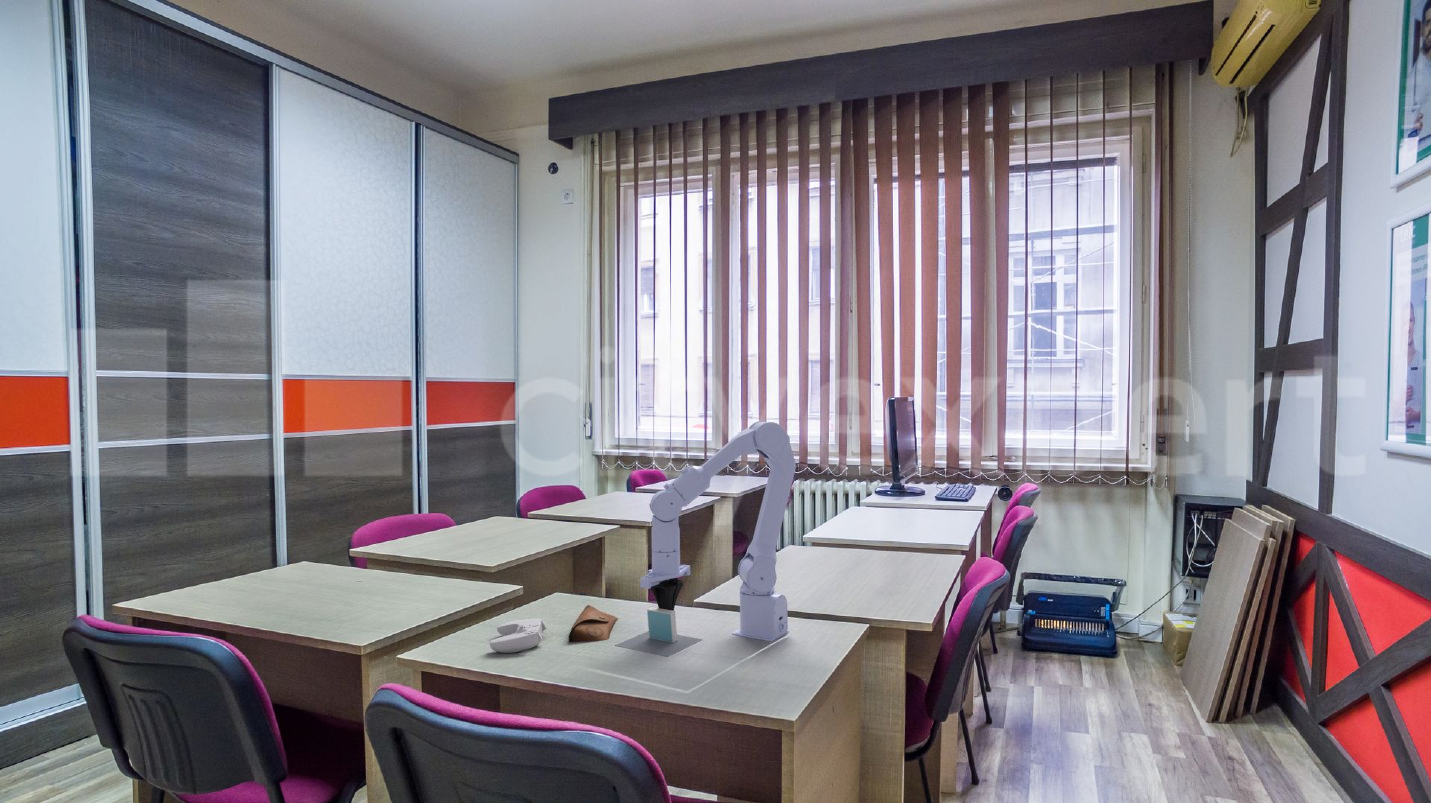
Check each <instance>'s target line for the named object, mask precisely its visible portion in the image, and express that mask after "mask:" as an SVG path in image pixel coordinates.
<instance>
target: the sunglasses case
mask: <svg viewBox="0 0 1431 803" xmlns="http://www.w3.org/2000/svg"><path fill="white" fill-rule="evenodd" d="M618 620H619V618H618V617H616V616H614V615H613V614H609V613H606V612H603V611H601V610H599V609H597V608H596V607H594V606H593V605H590V604H587V605H586V606H585V607H584V609H583V610H582V611H581V613H580V614H579V615H578V617H577V619H576V620H575V622H574V623H573V625H572V627H571V630H570V631H569V634H568V642H569V643H581V642H582V643H583V642H586V643H588V642H601V641H608V640H609V639H610V636H611V632H612V630H613V628H614V627H615V624H616V622H617V621H618Z"/></svg>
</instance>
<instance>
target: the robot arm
mask: <svg viewBox="0 0 1431 803" xmlns="http://www.w3.org/2000/svg"><path fill="white" fill-rule="evenodd" d="M757 453H758V454H760V456H762V458H763V460H764V461H765V462H766V465H767V466H769V474H768V478H767V482H766V486H765V489H764V493H763V498H762V501H761V505H760V509H759V512H758V517H757V522H756V525H755V529H754V533H753V538H752V541H751V542H750V544H749V545H748V547H747V549H746V553H745V554H744V557H742V559H741V560H740V562H739V563H738V567H737V573H738V577H739V578H740V579H741V580H742V583H741V586H740V587H739V621H740V623H739V624H740V628H739V629H736V630H735V631H732V633H731V634H732V636H733V635H734V636H739V637H746V638H751V639H756V640H760V641H761V640H762V641H765V642H773V641H776V640H777V639H778V638H781V637H782V636H785V635H786V634H788V633H789V632H790V629H789V626H788V623H789V622H788V620H789V618H788V600H787V598H786V596H785V595H784V594H782V593H778V592H776V591H775V585H776V583H777V572H776V566H777V565H776V564H777V549H776V548H777V544H778V540H779V536H780V533H781V532H780V531H781V529H782V524H783V521H784V516H785V512H786V509H787V504H788V500H789V496H790V493H791V492H790V491H791V488H792V484H793V480H794V476H795V474H796V468H797V463H796V459H795V456H794V453H793V449H792V445H791V438H790V436H789V434H788V433H787V432H786V431H785V429H784V428H783V426H781V425H780V424H778V423H777V422H774V421H768V422H767V421H764V420H758V421H755V422H754V423H752V424H751V425H749V427H747V428H744V429H743V430H742V431H740V432H739V433H737V435H735V436H733V438H731V439H730V440H729V441H728V442H727V443H726V444H725V445H724V446H722V447H721V448H720V449H719V450H718V451H716V453H714V454H713V455H712V456H711V457H710V458H709V459H707V460H706V461H705V462H704V463H703V464H701V465H700V466H699V465H691V466H689V467H686V466H685V467H684V468H682V469H681V472H682V473H681V474H680V475H678V476H677V477H676V478H675V479H674V480H673V481H671V482H670V483H665V484H664V485H663V488H664V490H659V491H657V492H655V493H654V494H653V496H652V497H651V500H650V503H649V508H650V511H651V513H652V514H653V515H652V519H651V525H652V526H651V569H648V570H647V571H648V573H647V574H645V576H643V577H640V578H639V587H640V589H646V590H650V591H651V592H652V594H653V595H654V599H655V601H656V603H657V608H660V609H666V610H672V611H675V606H676V604H677V599H678V596H679V594H680V592H681V590H682V588H683V586H684V581H683V580H682V579H681V580H680V579H678V578H681V577H684V576H691V565H688V564H681V549H680V548H681V545H680V544H681V543H680V542H681V539H680V537H681V536H680V534H681V533H680V531H681V530H680V529H681V528H680V527H679V517H680V515H681V514H682V510H683V507H687V506H688V505H690V504H691V503H692V502H694V501H695V500H696V499H697V498H698V497H700V495H702V494H703V493H704V492H706V491H707V490H708V489H709V488H710V485H711V480H712V478H713V477H714V476H716V475H717V474H719V472H721V471H722V470H724V469H725V468H726V467H727V466H729V465H730V464H731V463H733V462H734V461H735V460H737V459H738V458H740V457H741V456H744V455H751V454H757Z"/></svg>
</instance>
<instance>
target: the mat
mask: <svg viewBox="0 0 1431 803" xmlns="http://www.w3.org/2000/svg"><path fill="white" fill-rule="evenodd" d="M701 641H704V640H703V638H697V637H692V636H687V635H681V634H677V641H675V642H673V643H672V642H667V641H662V640H657V639H652V638H649V630H648V631H646V632H643V633H641V634H639V635H636V636H633V637H631V638H629V639H627V640H624V641H622V642H619V643H617V644H615V645H614V646H615V647H620V648H623V649H629V650H633V651H638V652H643V653H648V654H653V655H658V656H662V657H667V658H668V657H671V656H672V655H674V654H676V653H679V652H681V651H683V650H685V649H687V648H689V647H691V646H693V645H695V644H697V643H699V642H701Z"/></svg>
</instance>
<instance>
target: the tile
mask: <svg viewBox="0 0 1431 803" xmlns="http://www.w3.org/2000/svg"><path fill="white" fill-rule="evenodd" d="M646 615H647V626H648V627H647V628H648V631H649V638H652V639H657V640H662V641H667V642H672V643H673V642H675V641H677V635H678V632H677V631H678V630H677V621H676V617H677V616H676V611H675V610H674V611H672V610H666V609H660V608H659V607H653V606H651V607H649V608H646Z"/></svg>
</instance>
